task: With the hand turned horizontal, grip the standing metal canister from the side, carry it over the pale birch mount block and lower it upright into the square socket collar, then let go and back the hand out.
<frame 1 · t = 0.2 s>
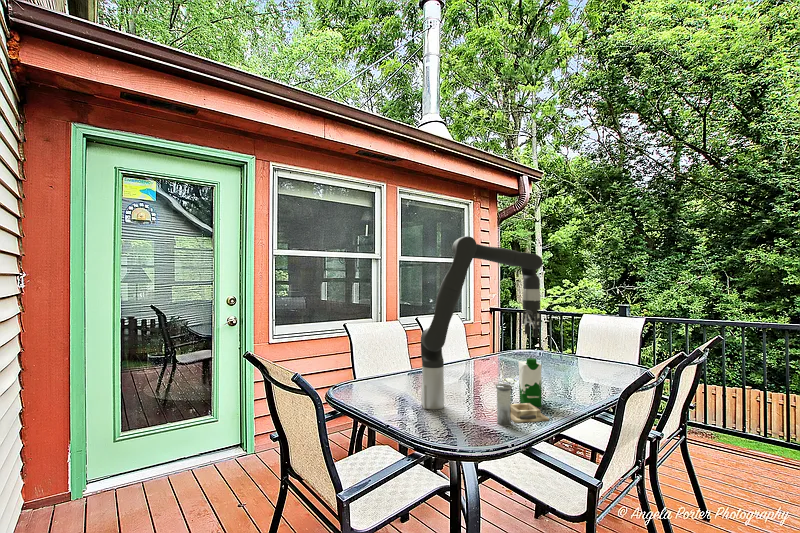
hand: (531, 335, 182), 29 cm above the table, tool pointing down, fingers open, 8 cm apart
metal canister: (504, 423, 155), on the table
socket mount: (523, 415, 163), on the table
milk carton: (530, 405, 177), on the table
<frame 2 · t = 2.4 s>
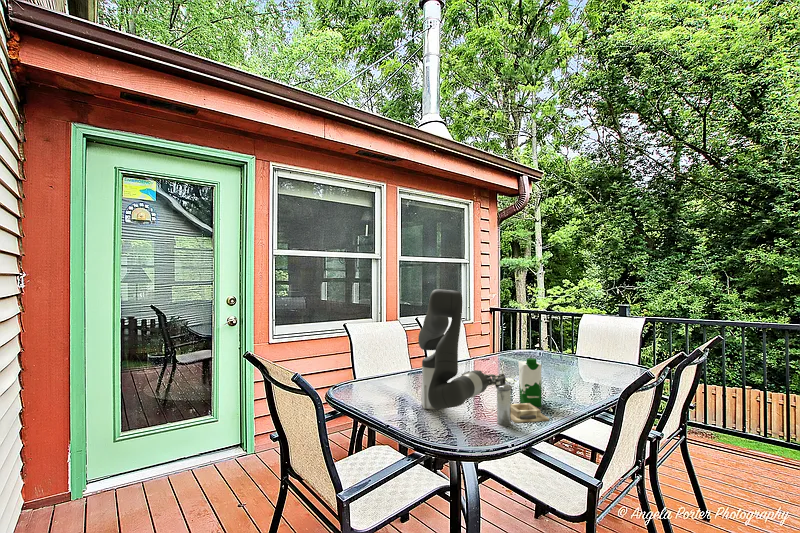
hand: (491, 374, 147), 20 cm above the table, tool horizontal, fingers open, 8 cm apart
nothing on the table moved.
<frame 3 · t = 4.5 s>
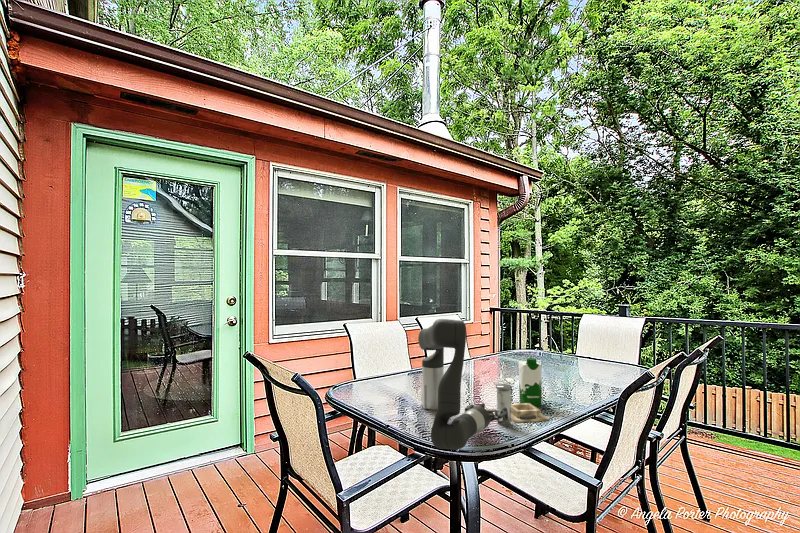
hand: (494, 408, 149), 8 cm above the table, tool horizontal, fingers open, 8 cm apart
nothing on the table moved.
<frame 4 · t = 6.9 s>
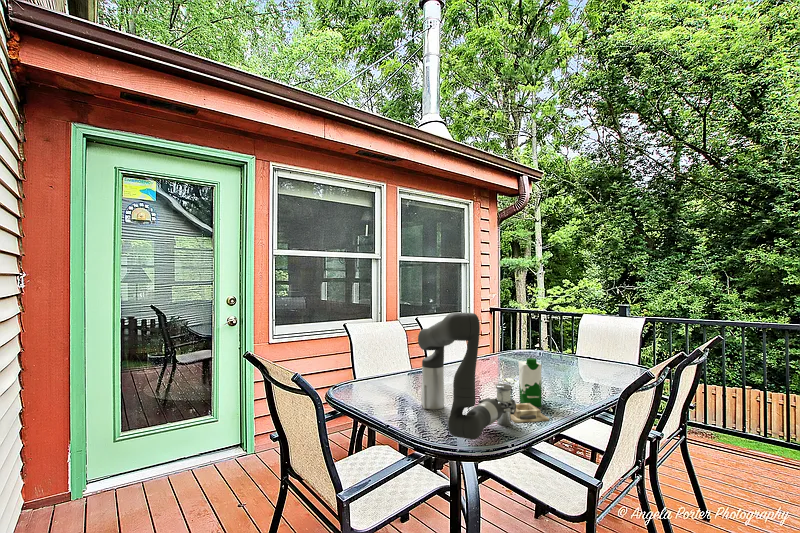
hand: (506, 400, 157), 8 cm above the table, tool horizontal, fingers closed on metal canister, 5 cm apart
metal canister: (504, 423, 155), on the table, touching gripper
everything else where it was.
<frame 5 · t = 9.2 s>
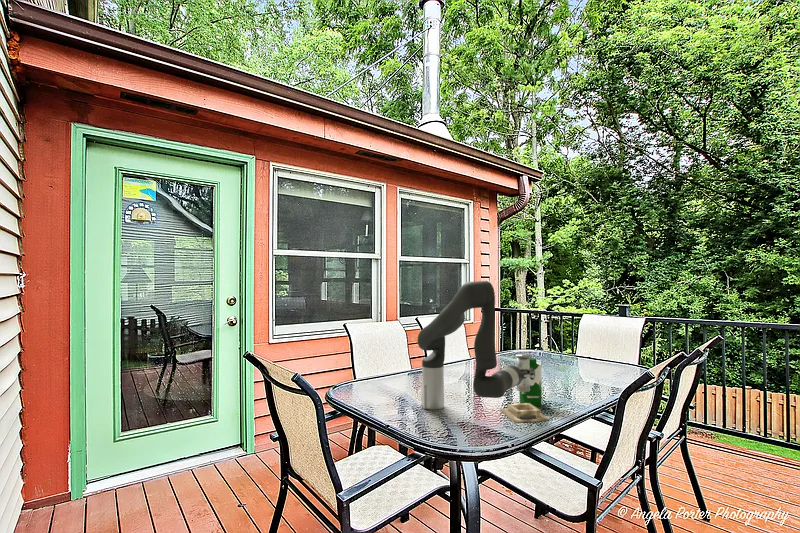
hand: (525, 369, 166), 18 cm above the table, tool horizontal, fingers closed on metal canister, 5 cm apart
metal canister: (523, 390, 163), point 10 cm above the table, touching gripper
everything else where it was.
when the fingers open (10 cm above the table, at t = 11.5 s): metal canister drops 1 cm, resting on socket mount.
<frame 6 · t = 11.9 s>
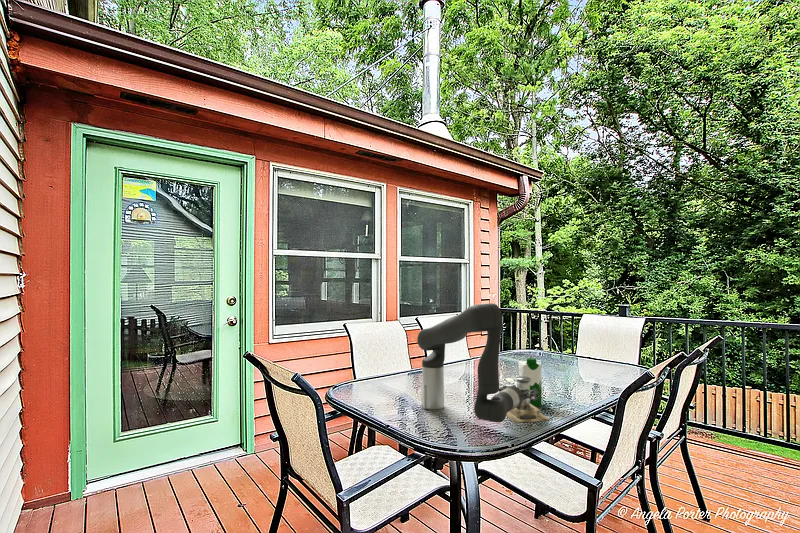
hand: (525, 389, 165), 10 cm above the table, tool horizontal, fingers open, 8 cm apart
metal canister: (523, 413, 163), point 1 cm above the table, touching socket mount
everything else where it was.
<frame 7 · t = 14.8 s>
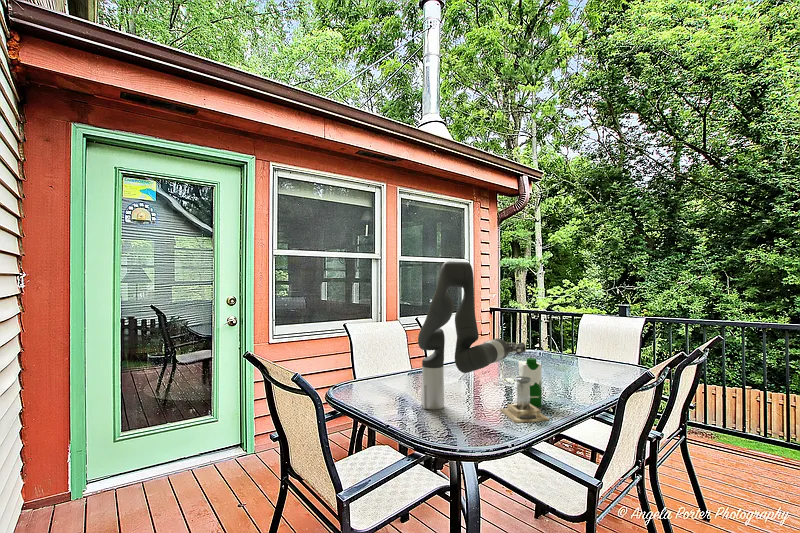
hand: (511, 344, 155), 30 cm above the table, tool horizontal, fingers open, 8 cm apart
nothing on the table moved.
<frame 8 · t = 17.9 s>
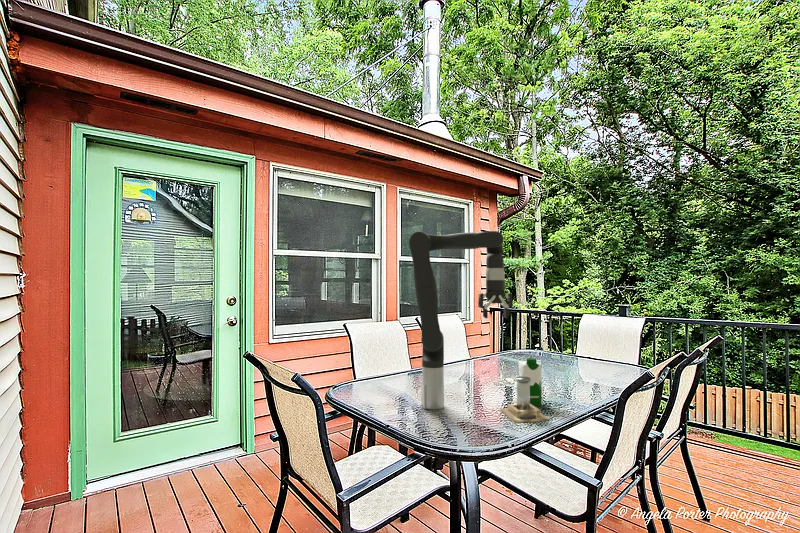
hand: (495, 318, 171), 38 cm above the table, tool pointing down, fingers open, 8 cm apart
nothing on the table moved.
at the end: metal canister 0.1 cm off-centre on the socket mount, point 0.8 cm above the socket mount's base; metal canister tilted 0°; the gripper is holding nothing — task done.
